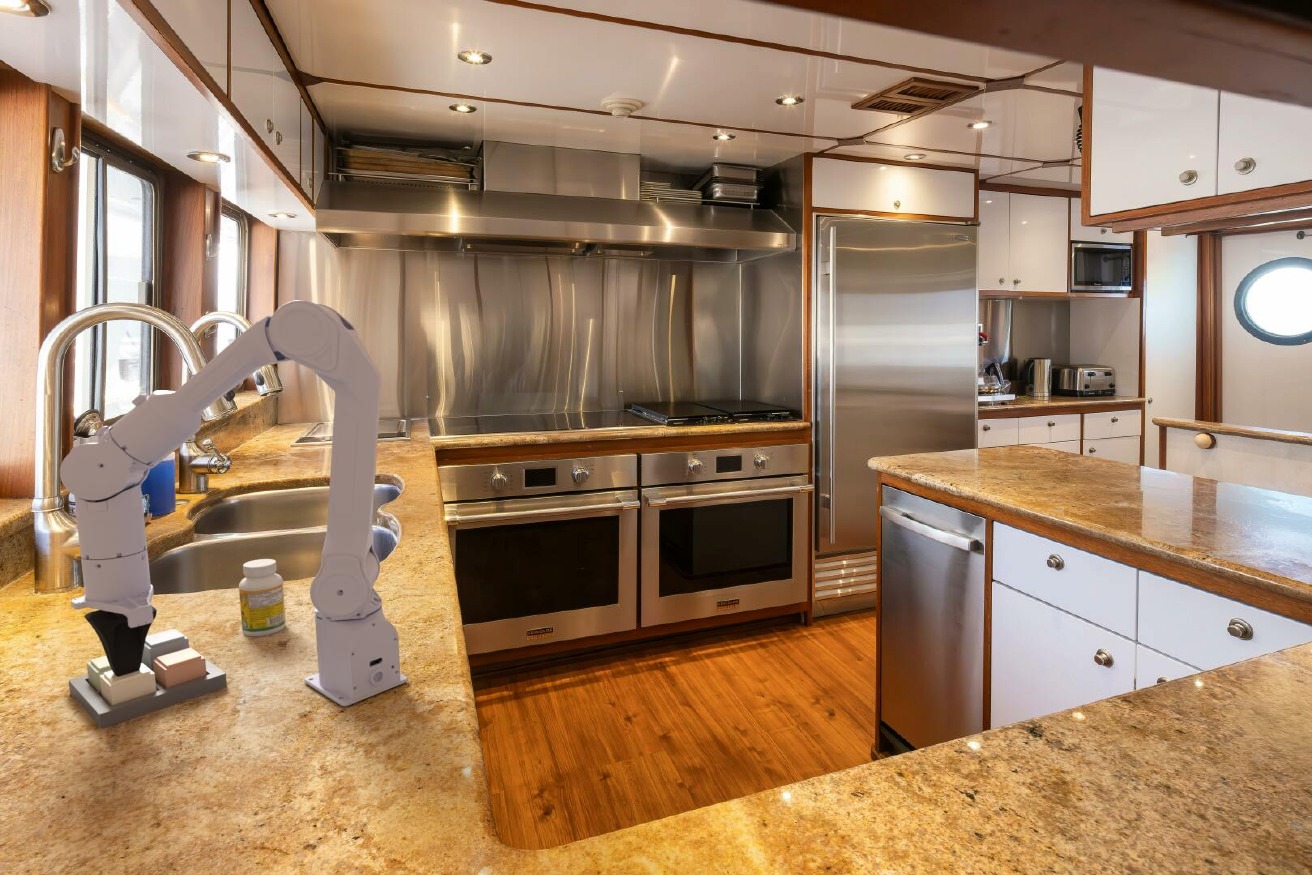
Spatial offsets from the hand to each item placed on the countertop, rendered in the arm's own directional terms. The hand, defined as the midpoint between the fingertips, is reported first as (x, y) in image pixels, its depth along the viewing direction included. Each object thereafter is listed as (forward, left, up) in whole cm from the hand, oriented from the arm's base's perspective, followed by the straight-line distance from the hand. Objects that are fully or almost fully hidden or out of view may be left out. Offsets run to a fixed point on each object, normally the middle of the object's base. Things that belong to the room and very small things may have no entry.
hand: (126, 672), depth 79 cm
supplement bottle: (+10, -19, -4) cm, 22 cm away
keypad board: (+2, -3, -4) cm, 5 cm away
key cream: (0, 0, -3) cm, 3 cm away
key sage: (+5, 0, -3) cm, 6 cm away
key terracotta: (0, -5, -3) cm, 6 cm away
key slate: (+5, -5, -2) cm, 7 cm away
